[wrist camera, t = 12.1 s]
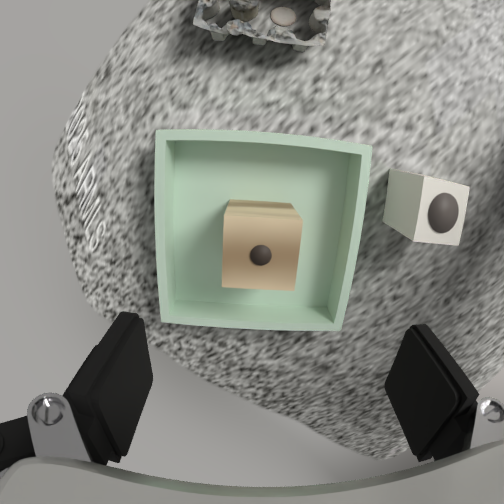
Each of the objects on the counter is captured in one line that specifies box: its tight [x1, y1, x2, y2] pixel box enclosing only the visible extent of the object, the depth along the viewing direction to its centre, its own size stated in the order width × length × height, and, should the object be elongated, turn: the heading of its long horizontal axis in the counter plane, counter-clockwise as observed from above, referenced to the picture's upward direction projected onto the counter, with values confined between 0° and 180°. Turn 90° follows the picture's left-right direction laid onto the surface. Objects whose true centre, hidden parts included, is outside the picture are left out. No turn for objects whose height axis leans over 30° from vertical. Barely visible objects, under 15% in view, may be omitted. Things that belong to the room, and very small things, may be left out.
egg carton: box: [193, 0, 331, 52], centre depth 17 cm, size 11×8×4 cm
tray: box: [154, 129, 372, 331], centre depth 24 cm, size 16×16×4 cm
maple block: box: [222, 199, 303, 291], centre depth 22 cm, size 5×5×6 cm
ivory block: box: [382, 169, 470, 246], centre depth 22 cm, size 5×5×6 cm
